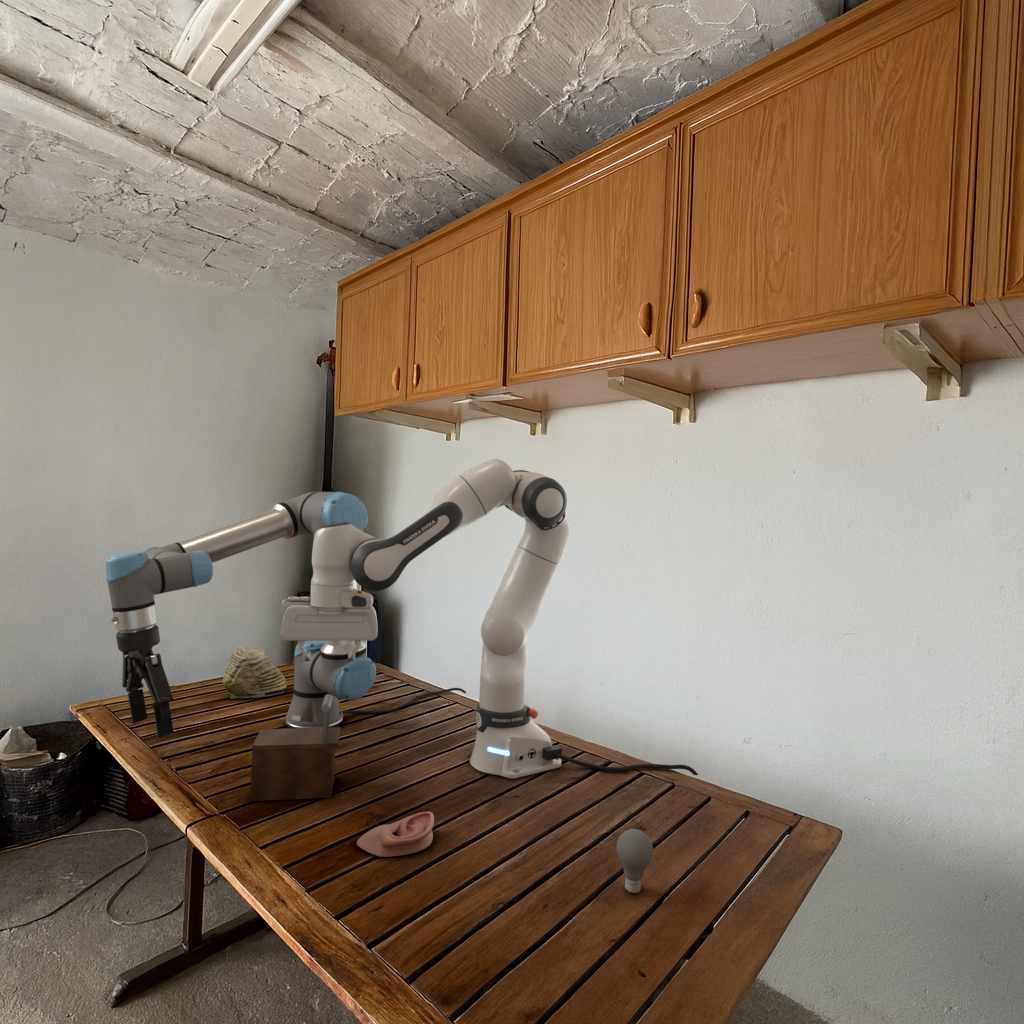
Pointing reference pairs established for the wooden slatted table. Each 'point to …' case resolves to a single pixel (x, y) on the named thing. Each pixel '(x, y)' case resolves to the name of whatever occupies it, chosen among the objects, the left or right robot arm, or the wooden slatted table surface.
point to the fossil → (252, 674)
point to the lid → (300, 735)
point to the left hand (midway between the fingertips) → (152, 727)
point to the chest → (292, 774)
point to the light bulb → (634, 857)
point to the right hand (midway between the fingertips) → (329, 660)
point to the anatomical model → (399, 836)
